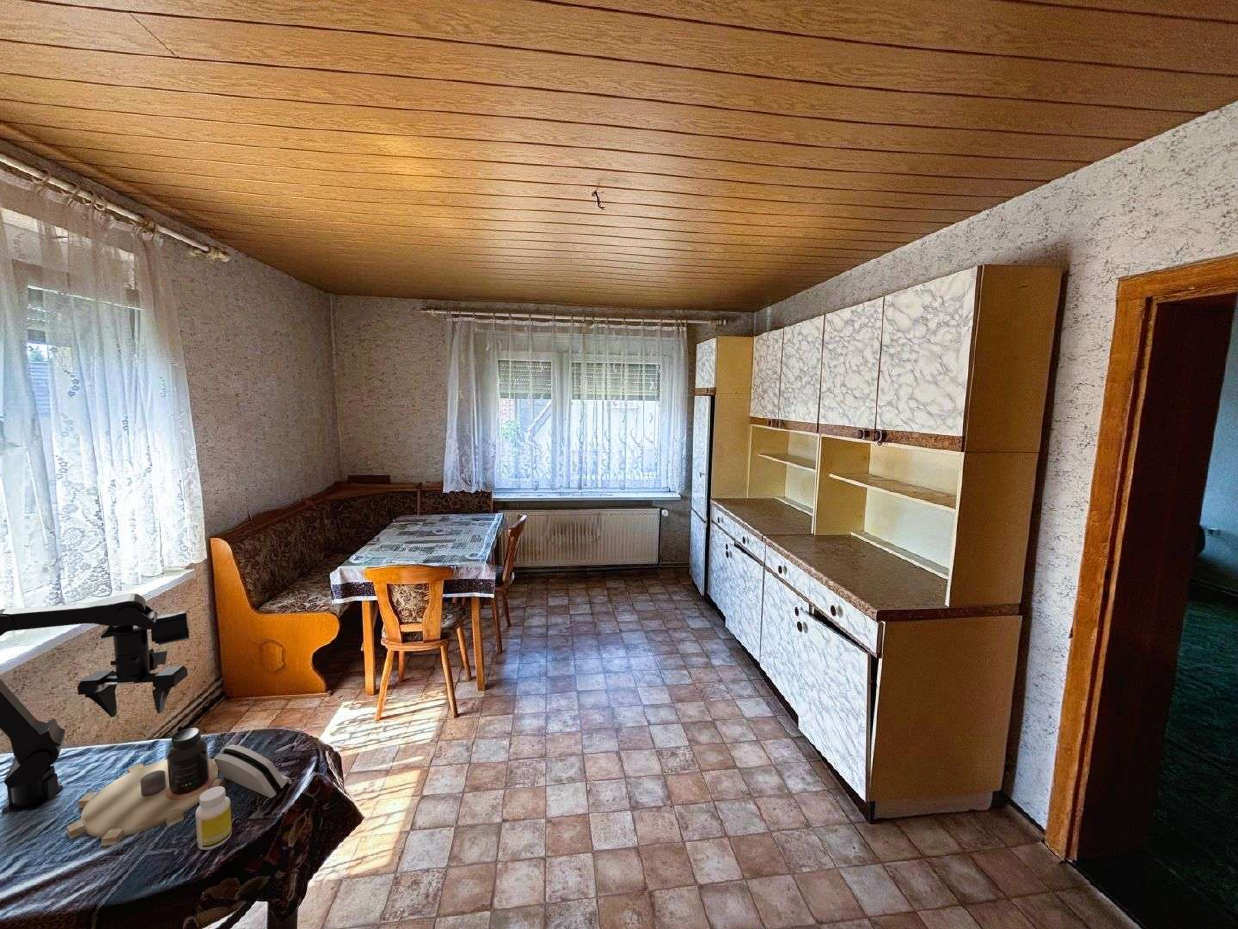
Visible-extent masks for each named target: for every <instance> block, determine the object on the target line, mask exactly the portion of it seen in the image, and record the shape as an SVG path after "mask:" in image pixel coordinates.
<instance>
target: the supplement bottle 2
mask: <svg viewBox="0 0 1238 929" xmlns="http://www.w3.org/2000/svg"><path fill="white" fill-rule="evenodd" d="M198 804H199V806H198V807H197V808H196V810H195V825H196V828H195V829H196V841H197V842H196V843H197V847H198V849H200V850H204V851H207V850H212V849H216V848H217V847H220V846H221V845H222V844H225V843H226V842H227V841H228V839H230V837H231V836H232V834H233V833H232V832H233V825H232V809H231V808H232V807H231V804H232V803H231V799H230V797H229V796H226V788H225V786H224V787H222V786H217V787H213V788H210V789H208V790H206V791H205V792H203V793H202V794H201V795H200V797H199V802H198Z"/></svg>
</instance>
